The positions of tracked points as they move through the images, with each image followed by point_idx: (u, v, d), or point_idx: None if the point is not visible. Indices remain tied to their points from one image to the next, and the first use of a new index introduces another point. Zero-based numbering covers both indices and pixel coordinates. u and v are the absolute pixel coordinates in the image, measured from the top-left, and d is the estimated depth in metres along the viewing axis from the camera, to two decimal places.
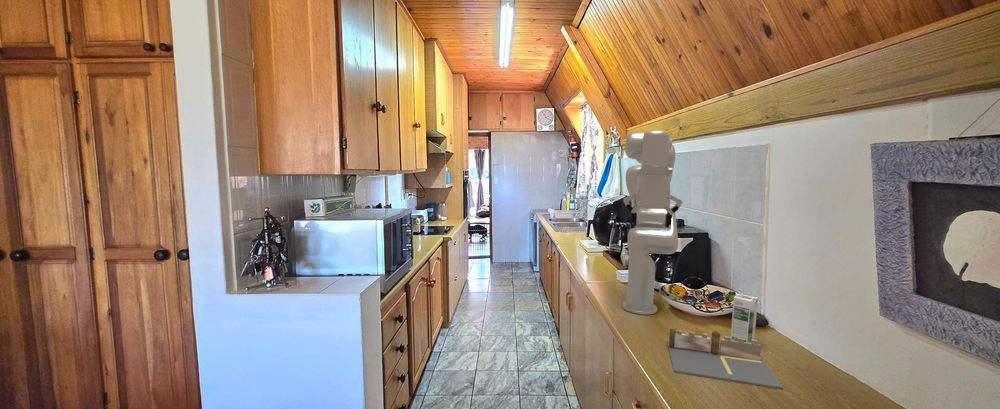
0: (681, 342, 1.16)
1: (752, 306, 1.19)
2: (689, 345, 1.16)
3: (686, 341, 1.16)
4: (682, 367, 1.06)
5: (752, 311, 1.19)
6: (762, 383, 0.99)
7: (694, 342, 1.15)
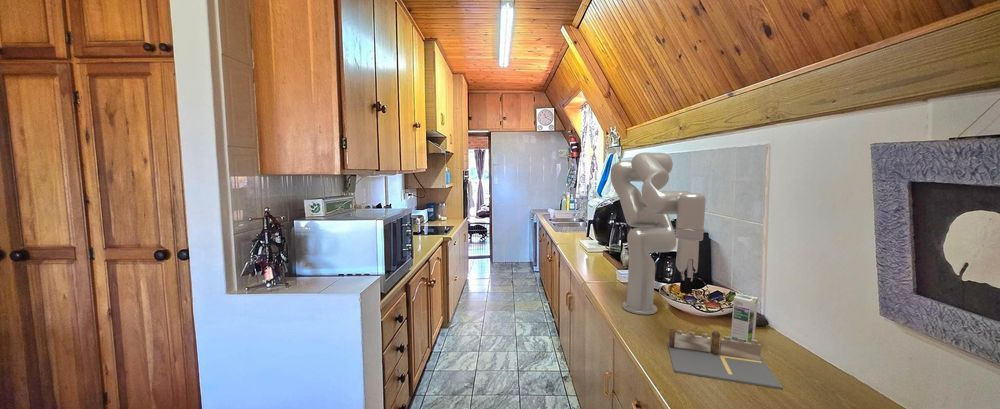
0: (681, 342, 1.16)
1: (752, 306, 1.19)
2: (689, 345, 1.16)
3: (686, 341, 1.16)
4: (682, 367, 1.06)
5: (752, 311, 1.19)
6: (762, 383, 0.99)
7: (694, 342, 1.15)
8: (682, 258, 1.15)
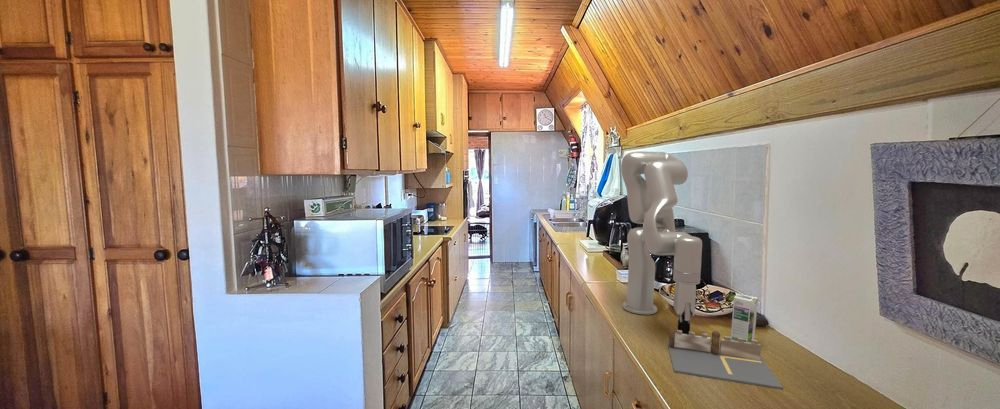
0: (681, 342, 1.16)
1: (752, 306, 1.19)
2: (689, 345, 1.16)
3: (686, 341, 1.16)
4: (682, 367, 1.06)
5: (752, 311, 1.19)
6: (762, 383, 0.99)
7: (694, 342, 1.15)
8: (679, 301, 1.17)
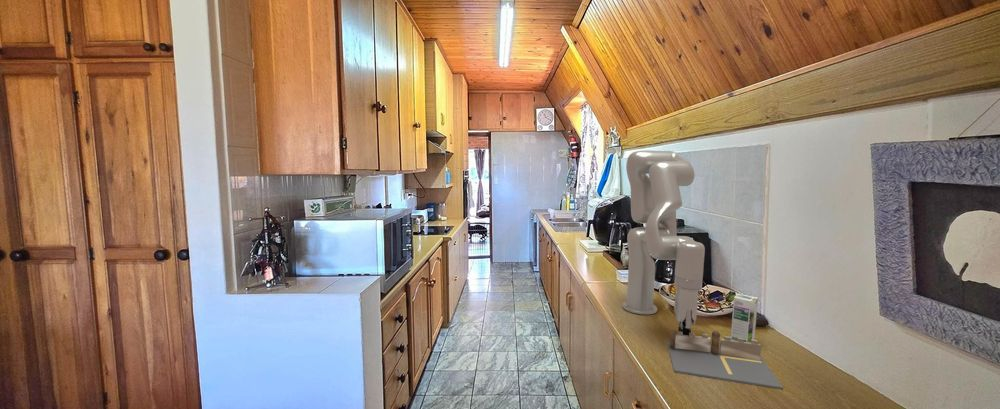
0: (682, 343, 1.16)
1: (752, 306, 1.19)
2: (690, 345, 1.15)
3: (687, 342, 1.15)
4: (682, 367, 1.06)
5: (752, 311, 1.19)
6: (762, 383, 0.99)
7: (694, 343, 1.15)
8: (681, 308, 1.14)
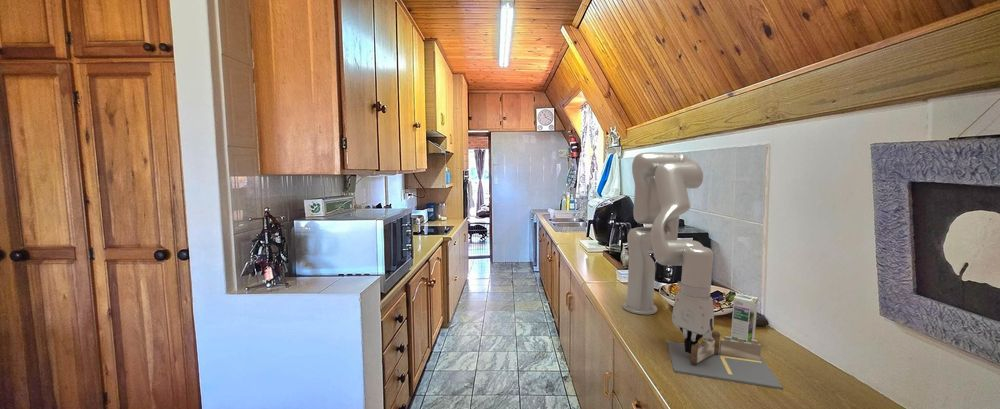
0: (700, 355, 1.09)
1: (752, 306, 1.19)
2: (704, 354, 1.10)
3: (703, 352, 1.09)
4: (682, 367, 1.06)
5: (752, 311, 1.19)
6: (762, 383, 0.99)
7: (707, 350, 1.11)
8: (706, 320, 1.06)
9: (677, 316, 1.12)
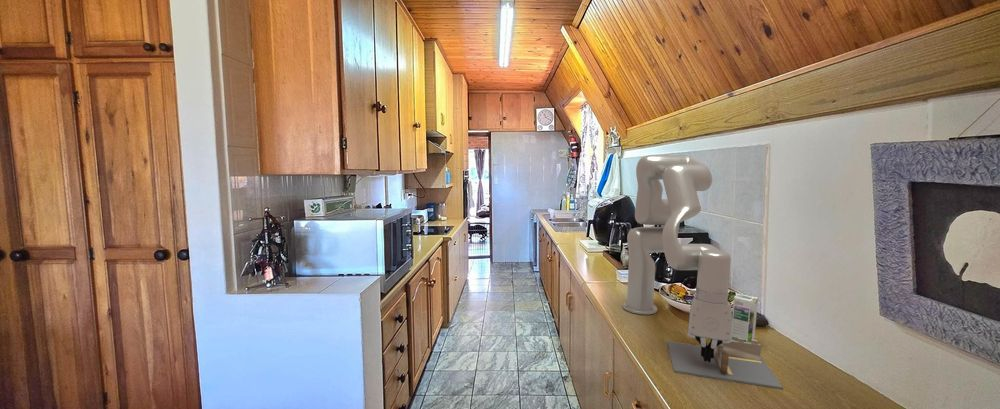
0: None
1: (752, 306, 1.19)
2: None
3: None
4: (682, 367, 1.06)
5: (752, 311, 1.19)
6: (762, 383, 0.99)
7: None
8: (731, 325, 1.03)
9: (697, 326, 1.06)
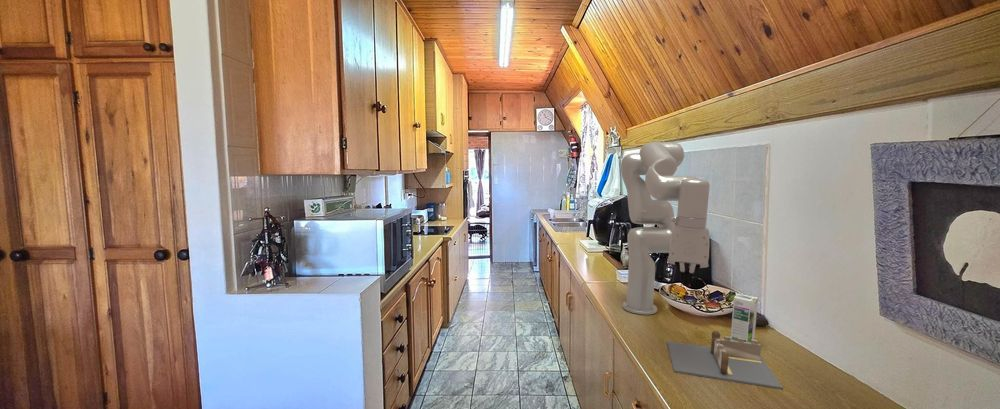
0: None
1: (752, 306, 1.19)
2: None
3: None
4: (682, 367, 1.06)
5: (752, 311, 1.19)
6: (762, 383, 0.99)
7: None
8: (708, 249, 1.08)
9: (676, 251, 1.10)
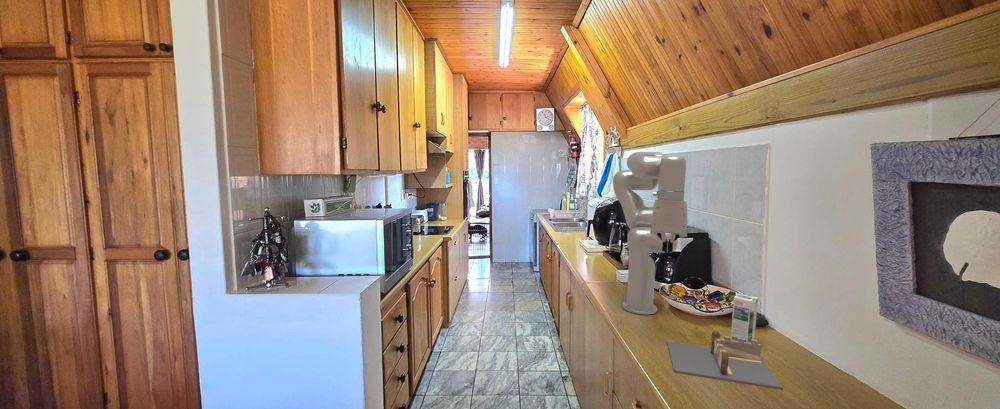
0: None
1: (752, 306, 1.19)
2: None
3: None
4: (682, 367, 1.06)
5: (752, 311, 1.19)
6: (762, 383, 0.99)
7: None
8: (686, 219, 1.19)
9: (658, 223, 1.22)
